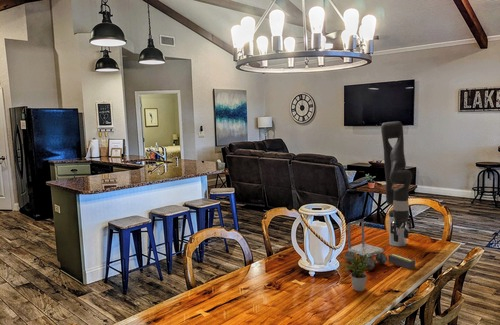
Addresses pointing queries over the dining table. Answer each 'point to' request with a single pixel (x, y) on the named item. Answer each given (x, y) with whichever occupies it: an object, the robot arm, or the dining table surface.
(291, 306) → the dining table surface
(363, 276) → the house plant
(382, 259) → the trolley
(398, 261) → the block
